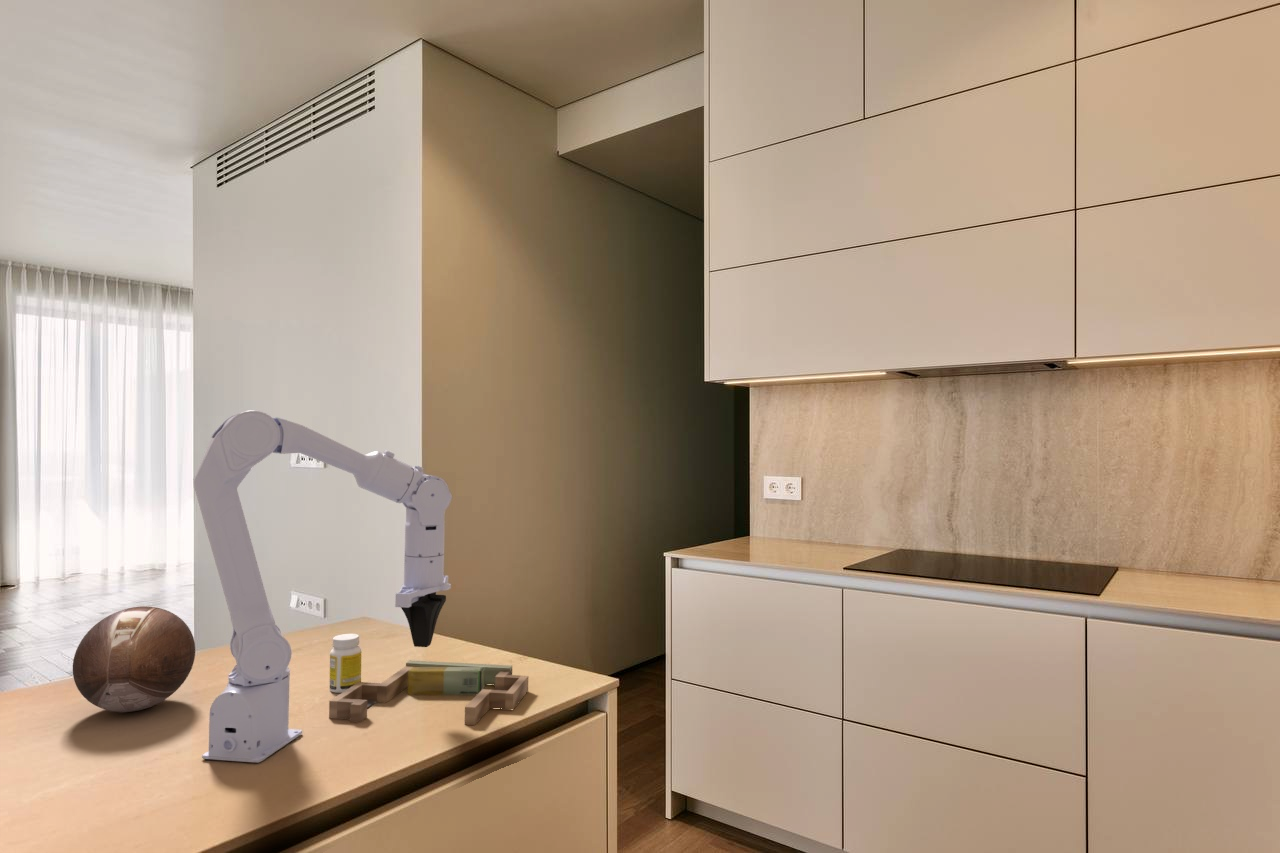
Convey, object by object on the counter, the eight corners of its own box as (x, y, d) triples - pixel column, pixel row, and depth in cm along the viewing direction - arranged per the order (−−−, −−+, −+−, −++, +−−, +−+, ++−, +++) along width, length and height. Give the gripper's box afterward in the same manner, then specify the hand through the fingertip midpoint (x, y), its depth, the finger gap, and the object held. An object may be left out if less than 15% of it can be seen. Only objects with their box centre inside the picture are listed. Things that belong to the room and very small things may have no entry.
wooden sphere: (65, 737, 97) (69, 625, 98) (76, 702, 110) (79, 603, 110) (196, 714, 106) (198, 611, 106) (192, 685, 118) (194, 593, 119)
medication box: (485, 691, 118) (486, 666, 118) (482, 696, 115) (482, 670, 115) (411, 690, 118) (412, 665, 118) (406, 696, 115) (407, 670, 115)
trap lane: (496, 730, 101) (496, 709, 101) (325, 720, 104) (326, 699, 104) (533, 684, 120) (533, 666, 121) (388, 676, 124) (389, 659, 124)
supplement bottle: (366, 684, 120) (367, 633, 120) (352, 694, 115) (353, 641, 115) (338, 683, 120) (339, 632, 120) (323, 692, 115) (324, 639, 116)
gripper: (430, 563, 101) (428, 661, 100) (467, 548, 115) (465, 634, 115) (382, 561, 102) (379, 658, 101) (424, 547, 116) (422, 632, 116)
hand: (422, 645), depth 108 cm, fingers closed
